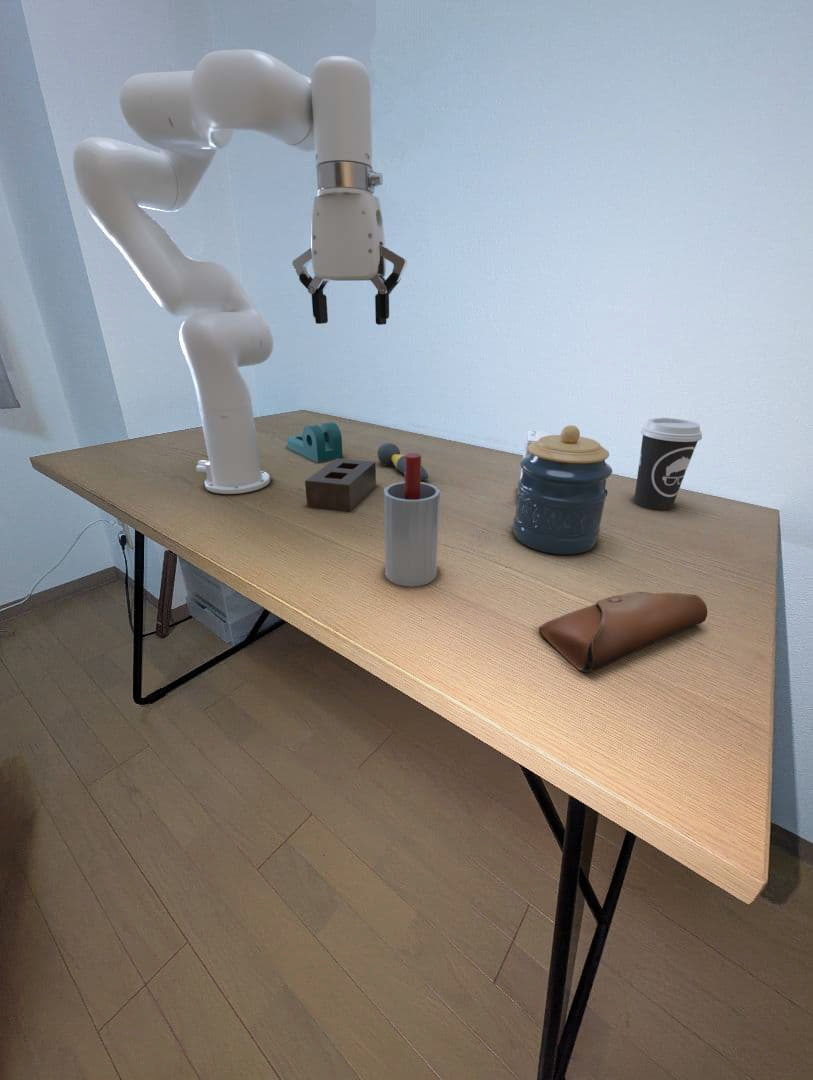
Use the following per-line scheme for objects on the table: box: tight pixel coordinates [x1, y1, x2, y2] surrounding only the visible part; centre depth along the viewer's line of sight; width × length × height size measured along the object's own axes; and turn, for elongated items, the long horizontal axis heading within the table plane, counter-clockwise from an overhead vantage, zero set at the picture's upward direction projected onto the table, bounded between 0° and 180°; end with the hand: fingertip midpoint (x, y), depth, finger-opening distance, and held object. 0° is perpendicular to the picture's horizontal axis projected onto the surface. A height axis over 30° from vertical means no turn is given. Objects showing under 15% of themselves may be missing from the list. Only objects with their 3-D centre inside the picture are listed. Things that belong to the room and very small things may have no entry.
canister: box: [512, 424, 613, 555], centre depth 71 cm, size 13×13×18 cm
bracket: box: [286, 421, 344, 464], centre depth 116 cm, size 18×7×8 cm, turn 39°
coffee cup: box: [633, 417, 703, 511], centre depth 84 cm, size 10×10×15 cm
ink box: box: [519, 430, 554, 480], centre depth 88 cm, size 9×5×12 cm, turn 167°
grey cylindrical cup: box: [383, 481, 441, 588], centre depth 62 cm, size 7×7×12 cm
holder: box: [304, 458, 377, 512], centre depth 90 cm, size 8×14×5 cm, turn 165°
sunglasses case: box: [538, 591, 708, 673], centre depth 52 cm, size 18×7×7 cm
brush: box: [404, 452, 422, 500], centre depth 61 cm, size 3×3×16 cm
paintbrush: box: [377, 443, 429, 481], centre depth 103 cm, size 20×5×5 cm, turn 38°
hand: (351, 323), depth 72 cm, fingers open, 9 cm apart
